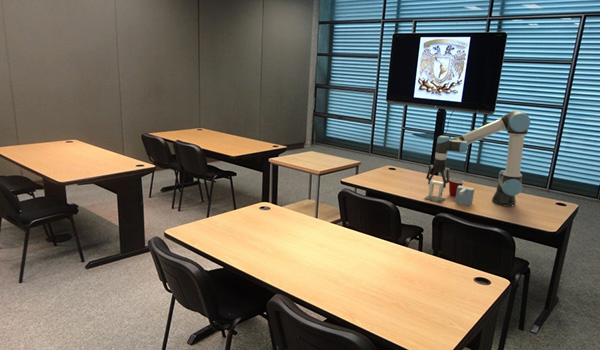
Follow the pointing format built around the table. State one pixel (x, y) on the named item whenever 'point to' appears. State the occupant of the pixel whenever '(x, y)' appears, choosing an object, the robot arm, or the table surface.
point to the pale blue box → (433, 187)
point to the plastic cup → (454, 186)
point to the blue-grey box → (464, 195)
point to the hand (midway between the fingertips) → (435, 190)
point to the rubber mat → (435, 198)
